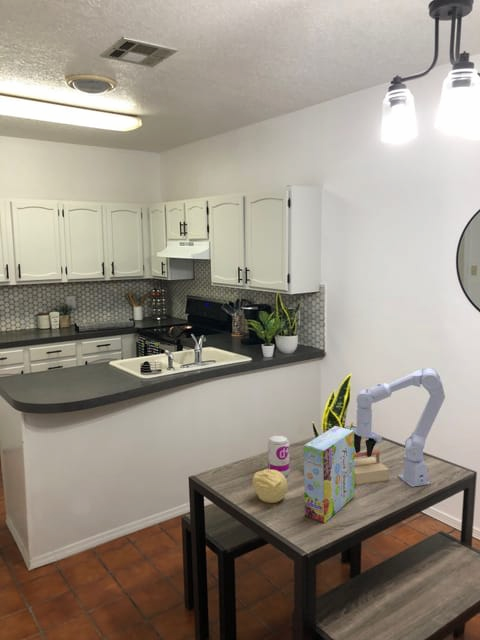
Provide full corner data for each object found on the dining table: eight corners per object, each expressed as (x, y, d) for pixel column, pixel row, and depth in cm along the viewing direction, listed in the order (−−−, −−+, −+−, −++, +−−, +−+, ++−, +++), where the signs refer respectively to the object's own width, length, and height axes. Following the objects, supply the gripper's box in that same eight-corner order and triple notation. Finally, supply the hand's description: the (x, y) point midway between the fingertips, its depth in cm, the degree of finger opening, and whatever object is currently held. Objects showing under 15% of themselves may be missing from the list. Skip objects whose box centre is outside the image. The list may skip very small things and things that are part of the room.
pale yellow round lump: (248, 499, 184) (247, 471, 182) (268, 487, 193) (268, 460, 191) (273, 510, 176) (272, 481, 174) (293, 497, 185) (293, 469, 183)
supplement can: (292, 476, 201) (292, 440, 198) (273, 480, 198) (273, 444, 195) (283, 468, 208) (283, 433, 206) (265, 471, 205) (264, 436, 203)
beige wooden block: (381, 463, 201) (381, 450, 201) (349, 467, 198) (349, 455, 197) (373, 457, 207) (373, 446, 207) (342, 462, 204) (342, 450, 203)
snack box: (333, 490, 189) (334, 424, 185) (355, 498, 184) (356, 430, 180) (302, 515, 173) (302, 443, 168) (324, 524, 167) (325, 450, 163)
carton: (388, 480, 197) (389, 469, 196) (356, 485, 193) (356, 474, 192) (373, 467, 208) (373, 456, 207) (341, 471, 204) (342, 461, 204)
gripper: (386, 423, 196) (385, 456, 198) (354, 414, 207) (353, 446, 209) (376, 428, 191) (375, 462, 193) (344, 418, 202) (343, 451, 204)
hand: (363, 454), depth 201 cm, fingers open, 4 cm apart
